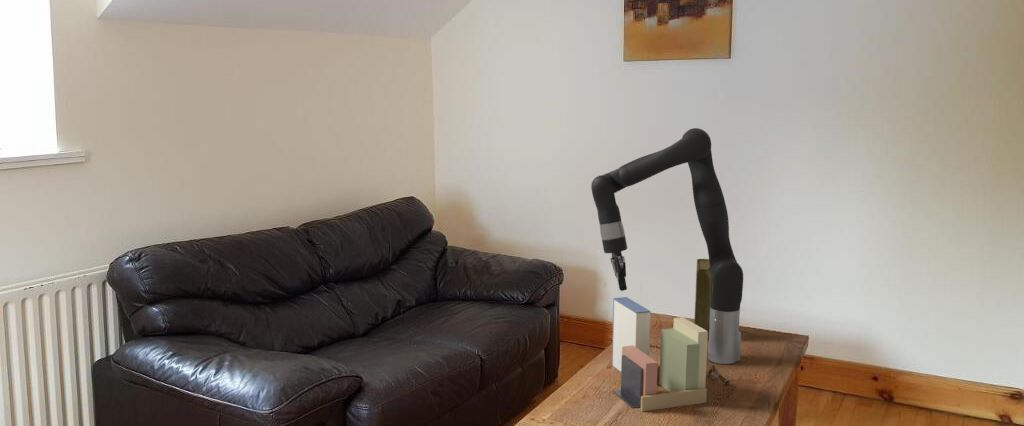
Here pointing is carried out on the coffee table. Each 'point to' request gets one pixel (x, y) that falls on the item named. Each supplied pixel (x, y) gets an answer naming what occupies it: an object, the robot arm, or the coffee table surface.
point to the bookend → (630, 383)
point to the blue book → (629, 328)
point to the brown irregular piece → (716, 375)
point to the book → (703, 294)
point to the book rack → (674, 367)
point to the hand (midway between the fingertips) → (623, 290)
